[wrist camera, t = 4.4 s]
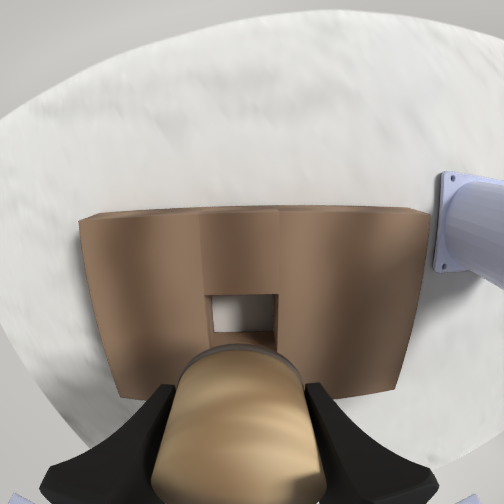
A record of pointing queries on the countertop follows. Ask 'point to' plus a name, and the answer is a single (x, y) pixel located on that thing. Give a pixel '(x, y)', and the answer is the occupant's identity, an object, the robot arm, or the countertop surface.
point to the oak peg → (239, 433)
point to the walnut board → (258, 288)
